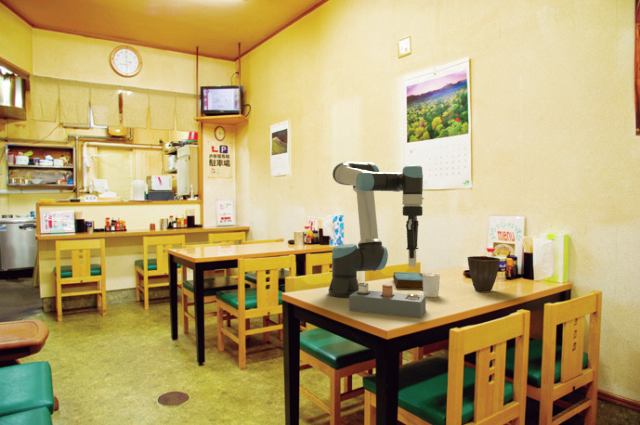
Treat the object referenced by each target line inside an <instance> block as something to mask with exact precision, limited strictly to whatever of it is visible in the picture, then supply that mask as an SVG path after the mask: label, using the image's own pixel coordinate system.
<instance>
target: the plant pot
mask: <svg viewBox="0 0 640 425" xmlns="http://www.w3.org/2000/svg"><path fill="white" fill-rule="evenodd" d="M500 263H501V259H500V258H499V257H494V256H481V255H480V256H478V255H476V256H474V255H473V256H467V265H468V271H469V275H470V278H471V283H472V285H473V288H474V291H477V292H481V293H489V292H492V290H493V288H494V285H495V283H496V280H497V277H498V273H499V270H500Z"/></svg>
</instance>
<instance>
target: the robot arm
mask: <svg viewBox="0 0 640 425" xmlns="http://www.w3.org/2000/svg"><path fill="white" fill-rule="evenodd" d="M332 178H333V180H334V181H335V182H336V183H337V184H339V185H343V186H352V190H353V191H354V192H355V193H356V201H357V212H358V224H359V226H358V227H359V237H360V240H359V242H358V243H357V244H356V243H347V244H346V243H345V244H340V245H336V246H334V247H333V248H332V249H331V250H332V252H331V254H332V255H331V269H332V270H331V271H332V272H331V280H330V283H329V287H328V296H331V297H335V298H349V295H351V294H353V293H354V292H356V291H358V290H359V283H360V282H359V281H358V276H357V275H358V272H368V271H370V272H375V271H381V270H383V269H385V267H386V265H387V263H388V258H389V254H388V249H387V247H386V246H385V245H383V242H382V240H380V239H379V234H378V231H379V230H378V223H377V210H376V202H375V192H376V191H377V192H397V193H399V192H402V205H403V206H402V216H403V217H404V216H405V217H407V220H406V224H405V227H406V243H407V247H406V251H407V250H408V267H412V268H413V267H417V250H419V247H418V236H419V235H418V234H419V225H420V224H419V220H418V217H422V216H423V206H422V205H423V200H424V199H425V198H424V196H423V189H424V188H423V186H424V185H423V183H424V182H423V180H424V179H423V178H424V174H423V167H422V165H416V164H415V165H414V164H413V165H404V166H403V167H402V172H381V171H380V169H379V167H378V165H376V163H373V162H368V161H365V162H361V161H358V162H357V161H344V162H340V163H338V164H337V165H336V166H335V167H334V168H333V170H332Z"/></svg>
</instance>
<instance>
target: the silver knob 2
mask: <svg viewBox="0 0 640 425" xmlns="http://www.w3.org/2000/svg"><path fill="white" fill-rule="evenodd" d="M406 294H407V299H415V300H418V295H419V294H417V293H406Z"/></svg>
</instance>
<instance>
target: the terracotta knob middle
mask: <svg viewBox="0 0 640 425" xmlns="http://www.w3.org/2000/svg"><path fill="white" fill-rule="evenodd" d="M393 288H394V286H393V285H392V284H382V289H381V292H382V297H393V293H394V292H393Z"/></svg>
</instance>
